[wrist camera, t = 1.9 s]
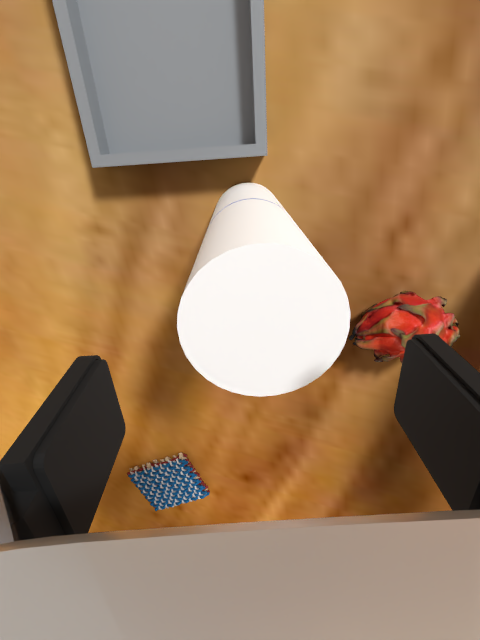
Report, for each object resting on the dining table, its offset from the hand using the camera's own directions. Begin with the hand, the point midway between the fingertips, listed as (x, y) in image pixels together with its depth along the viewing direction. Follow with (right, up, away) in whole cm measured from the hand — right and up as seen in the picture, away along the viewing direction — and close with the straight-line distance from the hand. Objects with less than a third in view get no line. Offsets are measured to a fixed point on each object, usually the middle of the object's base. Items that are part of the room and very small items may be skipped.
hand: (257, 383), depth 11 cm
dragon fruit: (+18, +3, +31) cm, 36 cm away
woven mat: (-12, -24, +45) cm, 53 cm away
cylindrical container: (0, +13, +26) cm, 29 cm away
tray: (-7, +28, +18) cm, 34 cm away
